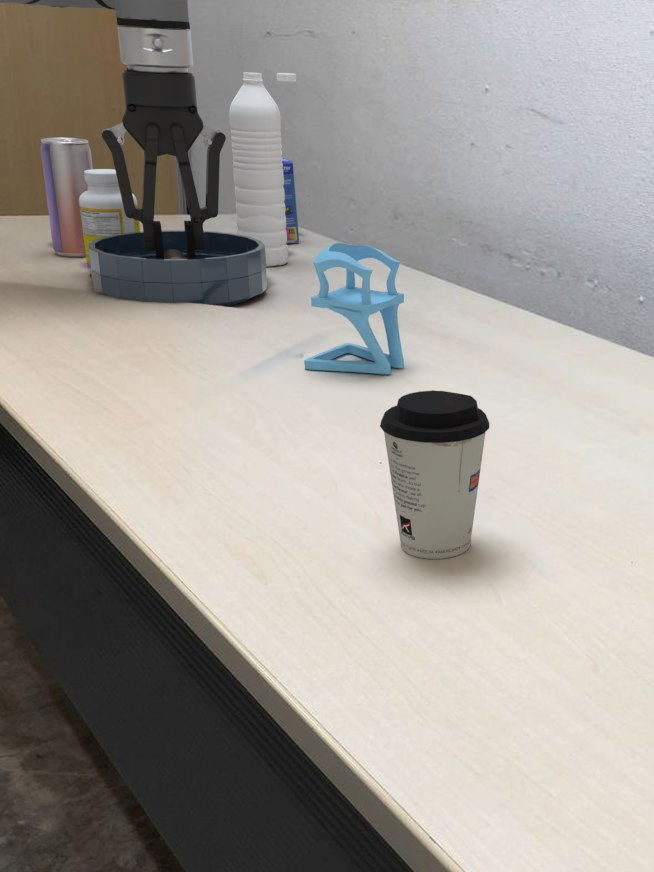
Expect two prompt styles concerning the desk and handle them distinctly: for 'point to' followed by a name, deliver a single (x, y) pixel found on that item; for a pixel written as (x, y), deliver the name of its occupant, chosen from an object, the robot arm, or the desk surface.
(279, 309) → the desk surface
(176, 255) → the chocolate candy
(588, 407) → the desk surface
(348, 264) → the chair
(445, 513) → the coffee cup
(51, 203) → the beverage can
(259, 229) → the water bottle
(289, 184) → the ink cartridge box
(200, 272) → the bowl
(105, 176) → the supplement bottle
